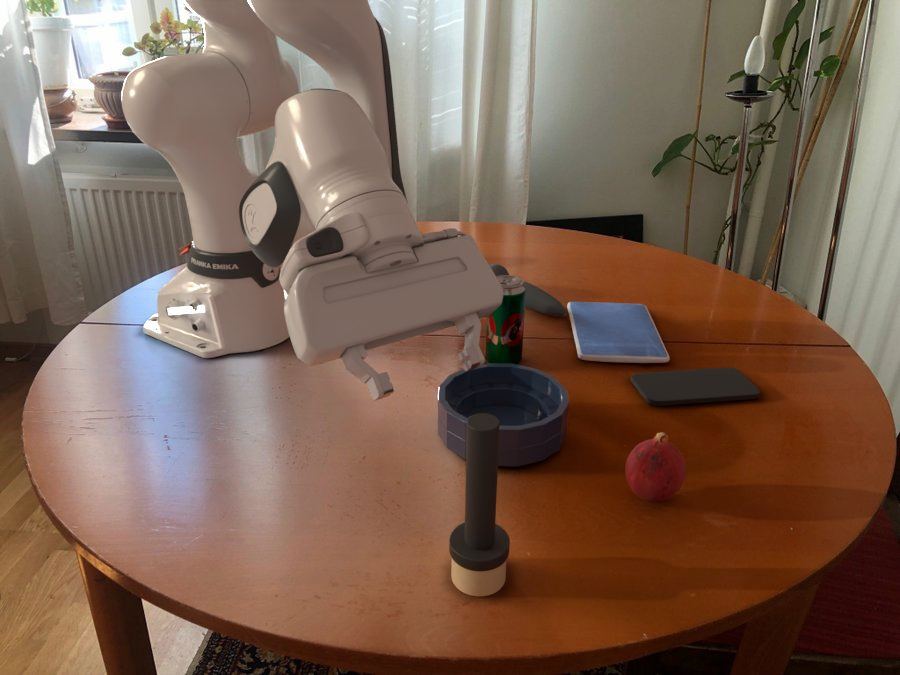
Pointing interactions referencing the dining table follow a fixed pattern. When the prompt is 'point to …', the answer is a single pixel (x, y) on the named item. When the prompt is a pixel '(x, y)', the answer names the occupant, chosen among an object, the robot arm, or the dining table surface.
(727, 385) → the phone
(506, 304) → the soda can
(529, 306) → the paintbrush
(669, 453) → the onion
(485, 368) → the bowl
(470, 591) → the dish brush
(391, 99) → the robot arm
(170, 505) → the dining table surface
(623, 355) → the tablet
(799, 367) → the dining table surface
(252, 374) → the dining table surface
